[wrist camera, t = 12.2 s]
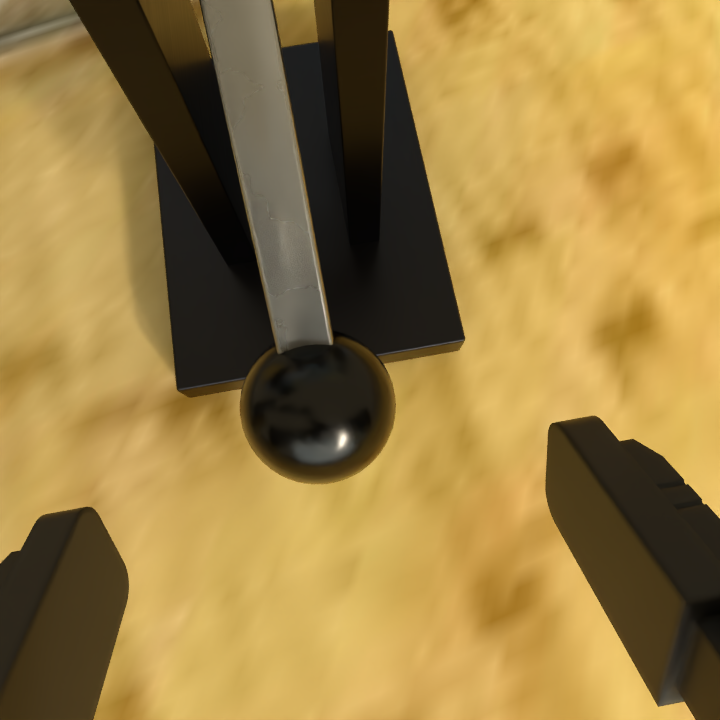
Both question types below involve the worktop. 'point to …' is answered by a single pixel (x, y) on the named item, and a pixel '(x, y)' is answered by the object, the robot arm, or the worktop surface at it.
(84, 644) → the robot arm
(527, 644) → the worktop surface
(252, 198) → the lever
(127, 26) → the bracket
